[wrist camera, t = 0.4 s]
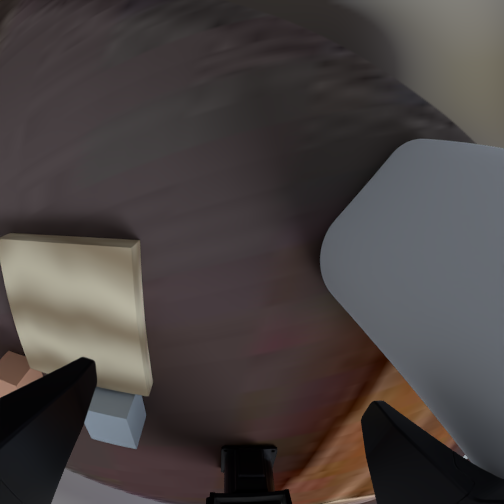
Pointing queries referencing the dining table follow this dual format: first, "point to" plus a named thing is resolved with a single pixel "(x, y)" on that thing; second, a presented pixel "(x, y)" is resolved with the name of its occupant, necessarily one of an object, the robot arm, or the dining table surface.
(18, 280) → the birch board
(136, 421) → the slate block
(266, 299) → the dining table surface
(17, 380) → the terracotta block
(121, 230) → the dining table surface
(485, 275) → the plastic bottle
